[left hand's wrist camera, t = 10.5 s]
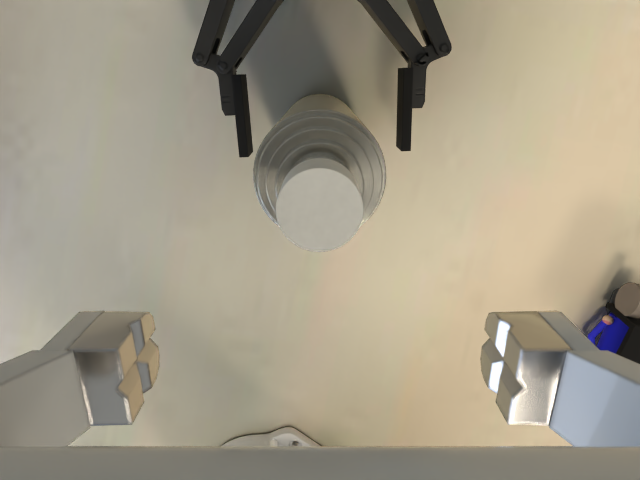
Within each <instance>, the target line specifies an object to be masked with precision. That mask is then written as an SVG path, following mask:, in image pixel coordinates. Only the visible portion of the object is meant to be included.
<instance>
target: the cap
mask: <svg viewBox="0 0 640 480" xmlns="http://www.w3.org/2000/svg"><path fill="white" fill-rule="evenodd" d="M363 211H364V210H363V201H362V197H361V194H360V191H359V188H358V185H357V182H356V180H355V178H354V177H353V175H352V174H351V172H350V171H349V170H348V169H347V168H346V167H345V166H343V165H342V164H340V163H338V162H336V161H334V160H331V159H326V158H313V159H309V160H306V161H303V162H301V163H299V164H298V165H296V166H295V167H294V168H293V169H291V170H290V172H289V173H288V174H287V176H286V177H285V179H284V181H283V183H282V186H281V189H280V192H279V195H278V198H277V202H276V217H277V221H278V224H279V227H280V229H281V230H282V232H283V233H284V235H285V236H286V237H287V238H288V239H289V240H290V241H291V242H292V243H293V244H295V245H297V246H298V247H300V248H303V249H305V250H309V251H314V252H325V251H331V250H334V249H337V248H339V247H341V246H343V245H344V244H346V243H347V242H348V241H350V240H351V239H352V238H353V237H354V235H355V234H356V233H357V231H358V229H359V227H360V225H361V222H362V219H363Z"/></svg>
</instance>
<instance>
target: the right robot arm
mask: <svg viewBox="0 0 640 480" xmlns="http://www.w3.org/2000/svg"><path fill="white" fill-rule="evenodd" d="M283 1H284V0H257V1H256V2H255V4H254V5H253V7H252V8H251V10H250V11H249V13H248V14H247V16H246V17H245V19H244V21H243V22H242V24H241V25H240V27H239V28H238V30H237V31H236V33H235V34H234V36H233V37H232V39H231V40H230V42H229V44H228V45H227V47H226V48H225V50H224V51H223V53H222V54H221V56H220V55H217V52H218V49H219V46H220V43H221V40H222V37H223V34H224V31H225V28H226V25H227V22H228V19H229V17H230V14H231V11H232V8H233V5H234V2H235V0H210V2H209V5H208V8H207V11H206V14H205V17H204V21H203V24H202V27H201V30H200V33H199V36H198V39H197V42H196V45H195V48H194V51H193V54H192V59H193V62H194V63H195V64H196V65H197V66H201V67H204V68H207V69H210V70H213V71H214V72H215V73H216V74H217V75H218V78H219V86H220V95H221V104H222V110H223V112H224V114H225V116H227V115H235V117H236V127H237V137H238V147H239V157H249V156H250V155H251V153H252V152H253V146H252V135H251V124H250V113H249V102H248V91H247V80H246V74H240V75H236V72H237V71H236V69H237V68H238V66H239V65H240V63H241V62H242V60H243V59H244V57H245V56H246V55H247V53H248V52H249V50H250V49H251V47H252V46H253V44H254V43H255V41H256V40H257V38H258V37H259V35H260V34H261V32H262V31H263V29H264V28H265V26H266V25H267V23H268V22H269V20H270V19H271V17H272V16H273V14H274V13H275V11H276V10H277V8H278V7H279V6H280V5H281V4H282V2H283ZM358 1H359V2H360V3H361V4H362V5H363V7H364V8H365V9H366V10H367V12H368V13H369V14H370V16H371V17H372V18H373V19H374V21H375V22H376V23H377V24H378V26H379V27H380V28H381V30H382V31H383V32H384V33H385V35H386V36H387V37H388V39H389V40H390V41H391V42H392V44H393V45H394V46H395V47H396V49H397V50H398V51H399V53H400V54H401V55H402V56H403V58H404V59H405V60H406V61H407V63H408V68H398V94H397V138H396V146H397V147H398V148H399V149H400V150H401V151H411V122H412V108H422V107H423V104H424V102H425V83H426V68H427V66H428V64H429V63H430V62H432V61H434V60H436V59H438V58H441V57H443V56H446V55H448V54H449V53H450V51H451V43H450V40H449V38H448V35H447V33H446V31H445V28H444V26H443V23H442V21H441V18H440V16H439V13H438V11H437V8H436V6H435V3H434V1H433V0H407V1H408V4H409V6H410V9H411V11H412V13H413V16H414V18H415V20H416V23H417V25H418V27H419V30H420V32H421V34H422V37H423V39H424V42H425V44H426V46H425V47H422V46H421V45H420V43H419V42H418V41H417V39H416V38H415V37H414V35H413V34H412V33H411V31H410V30H409V29H408V28H407V26H406V25H405V24H404V22H403V21H402V20H401V18H400V17H399V16H398V14H397V13H396V12H395V10H394V9H393V8H392V7H391V5H390V4H389V3H388V1H387V0H358Z"/></svg>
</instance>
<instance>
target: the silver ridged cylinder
mask: <svg viewBox="0 0 640 480" xmlns="http://www.w3.org/2000/svg"><path fill="white" fill-rule="evenodd" d="M313 158H326V159H331V160H334V161H336V162H338V163H340V164H342V165H343V166H345V167H346V168H347V169H348V170H349V171H350V172H351V174H352V175H353V177H354V178H355V180H356V182H357V185H358V188H359V191H360V194H361V197H362V201H363V210H364V211H363V219H362V222H361V225H363V224H364V223H365V222H366V221H367V220H368V219H369V218H370V217H371V216H372V214H373V213H374V212H375V210H376V209H377V207H378V205H379V203H380V201H381V198H382V196H383V193H384V189H385V183H386V166H385V160H384V157H383V153H382V151H381V149H380V146H379V144H378V142H377V141H376V139H375V138H374V136H373V135H372V134H371V133H370V131H369V130H368V129H367V128H366V127H365V125H364V124H363V123H362V122H361V121H360V120H359V119H358V117H357V116H356V115H355V114H354V113H353V112H352V110H351V109H350V108H349V107H348V106H347V105H346V104H345V103H344V102H343V101H341V100H340V99H338V98H336V97H334V96H331V95H327V94H313V95H309V96H306V97H304V98H302V99H300V100H298V101H297V102H296V103H295V104H294V105H292V106H291V108H290V109H289V110H288V111H287V112H286V113H285V115H284V116H283V117H282V118H281V119H280V120H279V121H278V123H277V124H276V125H275V126H274V127H273V128H272V129H271V131H270V132H269V133H268V134H267V136H266V137H265V138H264V140H263V142H262V143H261V145H260V147H259V150H258V152H257V155H256V158H255V163H254V169H253V179H254V187H255V191H256V195H257V197H258V200H259V202H260V204H261V206H262V208H263V210H264V211H265V212H266V214H267V215H268V216H269V217H270V219H271V220H272V221H273V222H274V223H276V224H277V225H278V226H279V224H278V221H277V217H276V202H277V198H278V195H279V192H280V189H281V186H282V183H283V181H284V179H285V177H286V176H287V174H288V173H289V172H290V170H291V169H293V168H294V167H295V166H296V165H298V164H299V163H301V162H303V161H306V160H309V159H313ZM361 225H360V226H361Z"/></svg>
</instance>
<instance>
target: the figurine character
mask: <svg viewBox="0 0 640 480" xmlns="http://www.w3.org/2000/svg"><path fill="white" fill-rule="evenodd" d="M606 308H607V309H606V311H607V315H606V316H604V317H603V318H602V321H601V322H600V323H599V324H598V325H597V326H596V327H595V328H594V329H593V330H592V331H591V332H590V333H589V334H588V339H589V340H590V341H591V342H592V343H593V344H594V345H595V337H596V336H597V335H598V334H599V333H600V332H601V331H602V330H603V332H602V334H601V337H600V339H599V341H598V344H597V346H596V347H597V348H598V349H599V350H608V351H610V352H612V353H615V354H617V355H619V356H622V357H624V358H626V359H629V360H631V361H633V362H636V363H638V364H640V284H636V283H631V282H630V283H626V284H624V285H623V286H622V287H621V288H620V289H619V288H617V289H616V290H615V291H614V292H613V294H612V297H611V299H610V302H608V303H607V305H606ZM610 312H611V313H610ZM609 313H610V315H608V314H609Z"/></svg>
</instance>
